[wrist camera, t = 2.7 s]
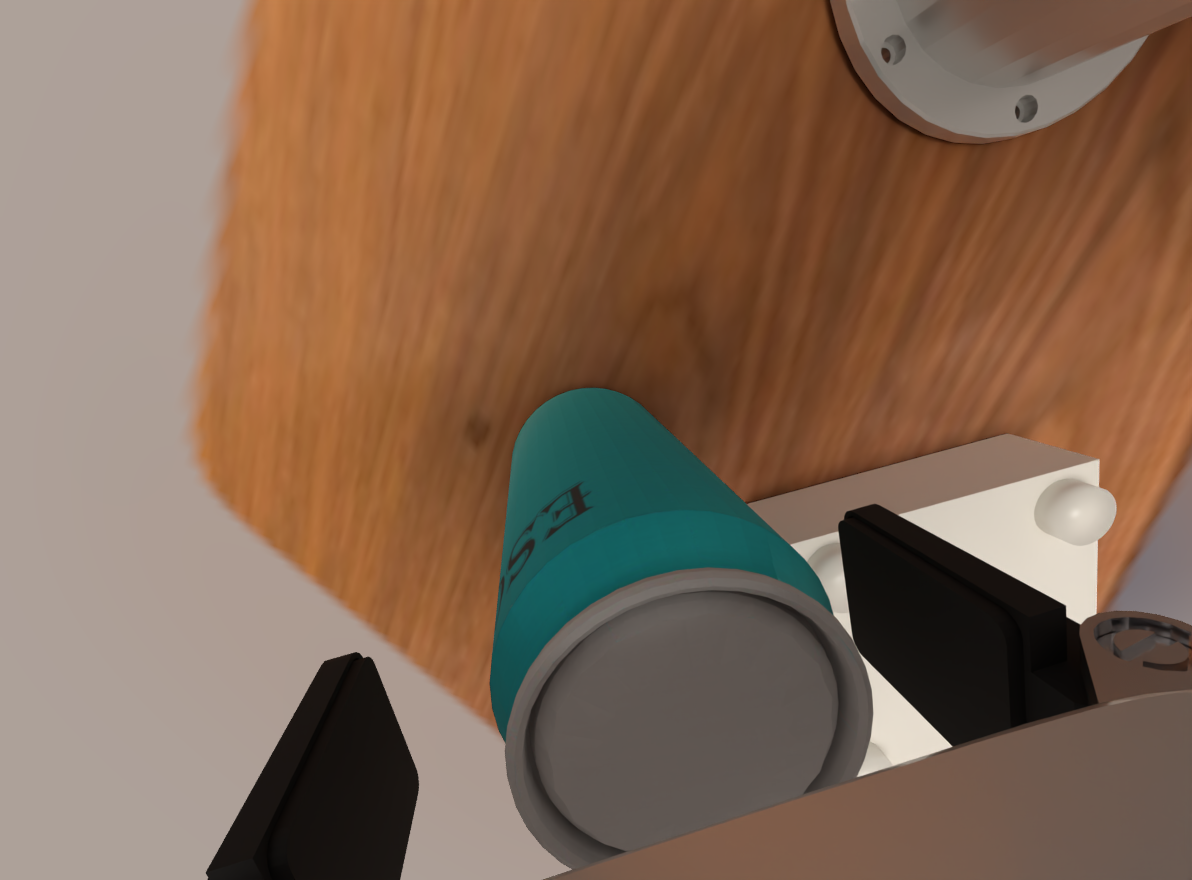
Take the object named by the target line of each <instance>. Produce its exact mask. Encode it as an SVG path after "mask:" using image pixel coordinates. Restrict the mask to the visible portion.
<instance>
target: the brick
mask: <svg viewBox="0 0 1192 880" xmlns="http://www.w3.org/2000/svg"><path fill="white" fill-rule="evenodd" d="M871 504H878V505H880V506H882V507H884V508H886V509H888V510H889V511H891V512H893V513H895V514H897V515H899V516H901V517H902V518H904V519H906V520H908V521H910V522H912V523H914V524H915V525H917V526H919V527H921V528H923V529H925V530H927V531H928V532H930V533H932V534H934V535H936V536H938V537H940V538H941V539H943V540H945V541H947V542H949V543H951V544H953V545H955V546H956V547H958V548H960V549H962V550H964V551H966V552H968V553H969V554H971V555H973V556H975V557H977V558H979V559H981V560H982V561H984V562H986V563H988V564H990V565H992V566H994V567H995V568H997V569H999V570H1001V571H1003V572H1005V573H1007V574H1008V575H1010V576H1012V577H1014V578H1016V579H1018V580H1020V581H1021V582H1023V583H1025V584H1027V585H1029V586H1031V587H1033V588H1034V589H1036V590H1038V591H1040V592H1042V593H1044V594H1046V595H1047V596H1049V597H1051V598H1053V599H1055V600H1057V601H1059V602H1060V603H1062V604H1064V605H1066V617H1068V618H1070V619H1072V620H1073V621H1075V622H1077V623H1079V624H1082V623H1083V622H1084V620H1085V619H1086V618H1088V617H1091V616H1093V615H1096V604H1097V553H1098V539H1100V538H1101V537H1102V536H1103V535H1104V534H1105V533H1106V532H1107V531H1108V530H1109V529H1110V527H1111V525H1112V524H1113V521H1114V519H1115V515H1116V502H1115V499H1114V497H1113V496H1112V494H1111V493H1110V492H1109V491H1107V490H1105V489H1102V488H1099V459H1097V458H1093V457H1090V456H1086V455H1083V454H1079V453H1076V452H1072V451H1068V450H1065V449H1061V448H1058V447H1054V446H1051V445H1047V444H1044V443H1040V442H1036V441H1033V440H1029V439H1026V438H1022V437H1019V436H1015V435H1012V434H1008V433H1007V434H1003V435H1000V436H996V437H992V438H988V439H985V440H981V441H977V442H974V443H970V444H966V445H963V446H959V447H955V448H952V449H948V450H944V451H940V452H937V453H933V454H929V455H926V456H922V457H918V458H915V459H911V460H907V461H904V462H900V463H896V464H892V465H889V466H885V467H881V468H878V469H874V470H870V471H867V472H863V473H859V474H856V475H852V476H848V477H844V478H841V479H837V480H833V481H830V482H826V483H822V484H819V485H815V486H811V487H808V488H804V489H800V490H796V491H793V492H789V493H785V494H782V495H778V496H774V497H771V498H767V499H763V500H760V501H756V502H752V503H749V504H747V505H748V506H749V507H750V508H751V509H752V510H753V511H754V512H755V513H757V514H758V515H759V516H760V517H761V518H762V519H763V520H764V521H765V522H766V523H767V524H768V525H769V526H770V527H771V528H772V529H774V530H775V531H776V532H777V533H778V534H779V535H780V536H781V537H782V538H783V539H784V540H785V541H786V542H787V543H788V544H789V545H791V546H792V547H793V548H794V549H795V550H796V551H797V552H798V553H799V554H800V555H801V556H802V557H803V558H804V559H805V560H806V561H807V563H808V564H809V565H810V567H811V568H812V569H813V571H814V572H815V573H816V575H817V576H818V577H819V579H820V581H821V583H822V585H823V587H824V589H825V591H826V593H827V595H828V597H829V600H830V603H831V607H832V611H833V614H834V616H835V617H836V618H837V619H838V621H839V622H840V623H841V625H842V626H843V627H844V628H845V630H846V631H847V632H848V634H849V635H850V636H851V638H852V639H853V637H852V630H851V623H850V615H849V608H848V600H847V593H846V585H845V578H844V570H843V562H842V555H841V547H840V540H839V532H838V524H839V522H840V521H842V520H844V516H845V513H846V512H847V511H850V510H854V509H857V508H861V507H864V506H868V505H871ZM853 641H854V640H853ZM854 644H855V643H854ZM855 646H856V645H855ZM856 648H857V647H856ZM857 650H858V649H857ZM858 652H859V651H858ZM859 654H860V652H859ZM860 656H861V658H862V660H863V662H864V664H865V666H866V669H867V673H868V677H869V681H870V685H871V688H872V699H873V722H872V732H871V738H870V742H869V746H868V749H867V753H866V756H865V760H864V762H863V764H862V767H861V769H860V771H859V773H858V775H857V777H859V776H862V775H865V774H869V773H872V772H875V771H878V770H881V769H884V768H887V767H891V766H894V765H897V764H900V763H903V762H906V761H909V760H913V759H916V758H919V757H922V756H925V755H928V754H931V753H935V752H938V751H941V750H944V749H947V748H950V747H952V746H951V745H950V743H949V742H948V741H947V740H946V739H945V738H944V737H943V736H942V735H941V734H940V733H939V732H938V731H937V730H936V729H935V728H934V727H933V726H932V725H931V724H930V723H929V722H928V721H927V720H926V719H925V718H924V717H923V716H922V715H921V714H920V713H919V712H918V711H917V710H916V709H915V708H914V707H913V706H912V705H911V704H910V703H909V702H908V701H907V700H906V699H905V698H904V697H903V696H902V695H901V694H900V693H899V692H898V691H897V690H896V689H895V688H894V687H893V686H892V685H891V684H890V683H889V682H888V681H887V680H886V679H885V678H884V677H883V676H882V675H881V674H880V673H879V672H878V671H877V670H876V669H875V668H874V667H873V666H872V665H871V664H870V663H869V662H868V661H867V660H866V659H865V658H864V657H863V656H862V655H861V654H860Z"/></svg>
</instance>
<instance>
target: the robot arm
mask: <svg viewBox="0 0 1192 880" xmlns="http://www.w3.org/2000/svg"><path fill="white" fill-rule="evenodd" d="M830 3H831V6H832V10H833V14H834V18H835V21H836V25H837V29H838V33H839V36H840V39H841V41H842V43H843V45H844V48H845V50H846V52H847V54H848V56H849V58H850V60H851V63H852V65H853V67H854V69H855V71H856V72H857V74H858V75H859V77H860V78H861V79H862V81H863V82H864V83H865V85H866V86H867V88H868V89H869V90H870V92H871V93H872V95H873V96H874V97H875V99H877V100H878V101H879V102H880V103H881V104H882V105H883V106H884V107H885V108H887V109H888V110H889V111H890V112H891V113H892V114H893V115H894V116H895V117H896V118H898V119H899V120H900V121H902V122H904V123H906V124H907V125H909V126H911V127H913V128H915V129H916V130H918V131H920V132H922V133H923V134H925V135H929V136H932V137H936V138H939V139H943V140H946V141H950V142H953V143H973V144H986V143H991V142H997V141H1002V140H1008V139H1013V138H1016V137H1019V136H1022V135H1024V134H1027V133H1030V132H1033V131H1036V130H1039V129H1042V128H1045V127H1048V126H1050V125H1052V124H1054V123H1056V122H1058V121H1059V120H1061V119H1063V118H1065V117H1067V116H1069V115H1071V114H1073V113H1075V112H1077V111H1078V110H1079V109H1081V108H1082V107H1083V106H1084V105H1086V104H1087V103H1088V102H1090V101H1091V100H1092V99H1093V98H1095V97H1096V96H1097V95H1099V94H1100V93H1101V92H1102V91H1104V90H1105V89H1106V88H1107V87H1108V86H1109V85H1110V84H1111V83H1112V81H1113V80H1114V79H1115V78H1116V77H1117V76H1118V75H1119V74H1120V73H1121V72H1122V71H1123V70H1124V69H1125V67H1126V66H1127V65H1128V64H1129V63H1130V62H1131V61H1132V59H1133V58H1134V56H1135V55H1136V53H1137V52H1138V51H1139V49H1140V48H1141V46H1142V45H1143V43H1144V42H1145V40H1146V39H1147V37H1148V36H1149V34H1151V33H1154V32H1156V31H1158V30H1161V29H1163V28H1165V27H1168V26H1170V25H1173V24H1175V23H1177V22H1180V21H1182V20H1184V19H1187V18H1189V17H1191V16H1192V0H830ZM838 532H839V540H840V547H841V555H842V562H843V570H844V578H845V585H846V593H847V600H848V608H849V615H850V623H851V630H852V637H853V640H854V643H855V645H856V647H857V649H858V651H859V652H860V654H861V655H862V656H863V657H864V658H865V659H866V660H867V661H868V662H869V663H870V664H871V665H872V666H873V667H874V668H875V669H876V670H877V671H878V672H879V673H880V674H881V675H882V676H883V677H884V678H885V679H886V680H887V681H888V682H889V683H890V684H891V685H892V686H893V687H894V688H895V689H896V690H897V691H898V692H899V693H900V694H901V695H902V696H903V697H904V698H905V699H906V700H907V701H908V702H909V703H910V704H911V705H912V706H913V707H914V708H915V709H916V710H917V711H918V712H919V713H920V714H921V715H922V716H923V717H924V718H925V719H926V720H927V721H928V722H929V723H930V724H931V725H932V726H933V727H934V728H935V729H936V730H937V731H938V732H939V733H940V734H941V735H942V736H943V737H944V738H945V739H946V740H947V741H948V742H949V743H950V745H951V746H952V747H950V748H947V749H944V750H941V751H938V752H935V753H931V754H928V755H925V756H922V757H919V758H916V759H913V760H909V761H906V762H903V763H900V764H897V765H894V766H891V767H887V768H884V769H881V770H878V771H875V772H872V773H869V774H865V775H862V776H859V777H856V778H853V779H850V780H847V781H844V782H840V783H837V784H834V785H831V786H828V787H825V788H822V789H818V790H815V791H812V792H809V793H806V794H803V795H800V796H797V797H793V798H790V799H787V800H784V801H781V802H778V803H775V804H772V805H769V806H766V807H763V808H760V809H757V810H753V811H750V812H747V813H744V814H741V815H738V816H735V817H732V818H729V819H726V820H723V821H720V822H716V823H713V824H710V825H707V826H704V827H701V828H698V829H695V830H692V831H689V832H686V833H683V834H680V835H677V836H674V837H671V838H667V839H664V840H661V841H658V842H655V843H652V844H649V845H646V846H643V847H640V848H637V849H634V850H631V851H628V852H625V853H622V854H619V855H616V856H612V857H609V858H606V859H603V860H600V861H597V862H594V863H591V864H588V865H585V866H582V867H579V868H576V869H573V870H570V871H567V872H564V873H561V874H558V875H556V876H552V877H549V878H546V879H543V880H1192V626H1191V625H1189V624H1186V623H1184V622H1181V621H1179V620H1175V619H1172V618H1168V617H1165V616H1161V615H1157V614H1150V613H1144V612H1137V611H1111V612H1104V613H1098V614H1096V615H1093V616H1091V617H1088V618H1086V619H1085V620H1084V622H1083V623H1082V624H1079V623H1077V622H1075V621H1073V620H1072V619H1070V618H1068V617H1066V605H1064V604H1062V603H1060V602H1059V601H1057V600H1055V599H1053V598H1051V597H1049V596H1047V595H1046V594H1044V593H1042V592H1040V591H1038V590H1036V589H1034V588H1033V587H1031V586H1029V585H1027V584H1025V583H1023V582H1021V581H1020V580H1018V579H1016V578H1014V577H1012V576H1010V575H1008V574H1007V573H1005V572H1003V571H1001V570H999V569H997V568H995V567H994V566H992V565H990V564H988V563H986V562H984V561H982V560H981V559H979V558H977V557H975V556H973V555H971V554H969V553H968V552H966V551H964V550H962V549H960V548H958V547H956V546H955V545H953V544H951V543H949V542H947V541H945V540H943V539H941V538H940V537H938V536H936V535H934V534H932V533H930V532H928V531H927V530H925V529H923V528H921V527H919V526H917V525H915V524H914V523H912V522H910V521H908V520H906V519H904V518H902V517H901V516H899V515H897V514H895V513H893V512H891V511H889V510H888V509H886V508H884V507H882V506H880V505H878V504H871V505H868V506H864V507H861V508H857V509H854V510H850V511H847V512H846V513H845V516H844V520H842V521H840V522H839V524H838ZM418 790H419V780H418V773H417V770H416V767H415V764H414V762H413V759H412V757H411V754H410V752H409V749H408V746H407V744H406V741H405V739H404V736H403V734H402V731H401V729H400V726H399V724H398V722H397V719H396V716H395V714H394V711H393V709H392V706H391V704H390V701H389V699H388V696H387V694H386V691H385V689H384V687H383V684H382V681H381V679H380V676H379V673H378V671H377V668H376V666H375V664H374V662H373V660H372V659H371V658H370V657H366V658H363V657H362V656H361V654H360V653H357V652H355V653H351V654H348V655H344V656H341V657H337V658H334V659H330V660H327V661H324V663H323V664H322V665H321V667H320V669H319V670H318V672H317V674H316V676H315V678H314V680H313V681H312V683H311V685H310V687H309V688H308V690H307V692H306V694H305V696H304V698H303V699H302V701H301V703H300V705H299V707H298V708H297V710H296V712H295V713H294V716H293V718H292V719H291V721H290V722H289V724H288V726H287V728H286V730H285V732H284V733H283V735H282V737H281V739H280V740H279V742H278V744H277V746H276V748H275V749H274V751H273V753H272V755H271V757H270V758H269V760H268V762H267V764H266V766H265V767H264V769H263V771H262V773H261V774H260V776H259V778H258V780H257V782H256V784H255V785H254V787H253V789H252V791H251V793H250V794H249V796H248V798H247V800H246V801H245V803H244V805H243V807H242V809H241V810H240V812H239V814H238V816H237V818H236V819H235V821H234V823H233V825H232V827H231V828H230V830H229V832H228V834H227V835H226V837H225V839H224V841H223V843H222V845H221V846H220V848H219V850H218V852H217V854H216V855H215V857H214V859H213V861H212V862H211V864H210V866H209V868H208V869H207V871H206V874H207V876H208V880H400V877H401V872H402V868H403V863H404V859H405V854H406V849H407V844H408V839H409V834H410V830H411V825H412V820H413V815H414V810H415V806H416V801H417V796H418Z"/></svg>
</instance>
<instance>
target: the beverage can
mask: <svg viewBox="0 0 1192 880" xmlns="http://www.w3.org/2000/svg"><path fill="white" fill-rule="evenodd" d="M490 691H491V701H492V709H493V712H494V716H495V719H496V722H497V726H498V729H499V732H500V734H501V736H502V738H503V740H504V741H505V743H506V745H505V758H506V769H507V777H508V781H509V785H510V788H511V791H512V795H513V798H514V801H515V805H516V808H517V809H518V811H519V813H520V815H521V817H522V819H523V821H524V823H525V824H526V827H527V828H528V830H529V831H530V832H531V833H532V834H533V836H534V837H535V838H536V840H537V841H538V842H539V843H540V844H541V846H542V847H543V848H544V849H546V850H547V851H548V852H549V853H550V854H551V855H553V856H554V857H555V858H556V859H557V860H558V861H560V862H561V863H563V864H564V865H566V866H568V867H569V868H571V869H572V870H573V869H576V868H579V867H582V866H585V865H588V864H591V863H594V862H597V861H600V860H603V859H606V858H609V857H612V856H616V855H619V854H622V853H625V852H628V851H631V850H634V849H637V848H640V847H643V846H646V845H649V844H652V843H655V842H658V841H661V840H664V839H667V838H671V837H674V836H677V835H680V834H683V833H686V832H689V831H692V830H695V829H698V828H701V827H704V826H707V825H710V824H713V823H716V822H720V821H723V820H726V819H729V818H732V817H735V816H738V815H741V814H744V813H747V812H750V811H753V810H757V809H760V808H763V807H766V806H769V805H772V804H775V803H778V802H781V801H784V800H787V799H790V798H793V797H797V796H800V795H803V794H806V793H809V792H812V791H815V790H818V789H822V788H825V787H828V786H831V785H834V784H837V783H840V782H844V781H847V780H850V779H853V778H856V777H857V775H858V773H859V771H860V769H861V767H862V764H863V762H864V760H865V756H866V753H867V749H868V746H869V742H870V738H871V732H872V722H873V699H872V688H871V685H870V681H869V677H868V673H867V669H866V666H865V664H864V662H863V660H862V658H861V656H860V654H859V652H858V650H857V648H856V646H855V644H854V641H853V639H852V638H851V636H850V635H849V634H848V632H847V631H846V630H845V628H844V627H843V626H842V625H841V623H840V622H839V621H838V619H837V618H836V617H835V616H834V614H833V611H832V607H831V603H830V600H829V597H828V595H827V593H826V591H825V589H824V587H823V585H822V583H821V581H820V579H819V577H818V576H817V575H816V573H815V572H814V571H813V569H812V568H811V567H810V565H809V564H808V563H807V561H806V560H805V559H804V558H803V557H802V556H801V555H800V554H799V553H798V552H797V551H796V550H795V549H794V548H793V547H792V546H791V545H789V544H788V543H787V542H786V541H785V540H784V539H783V538H782V537H781V536H780V535H779V534H778V533H777V532H776V531H775V530H774V529H772V528H771V527H770V526H769V525H768V524H767V523H766V522H765V521H764V520H763V519H762V518H761V517H760V516H759V515H758V514H757V513H755V512H754V511H753V510H752V509H751V508H750V507H749V506H748V505H747V504H746V503H745V502H744V501H743V500H742V499H741V498H740V497H738V496H737V495H736V494H735V493H734V492H733V491H732V490H731V489H730V488H729V487H728V486H727V485H726V484H725V483H724V482H722V481H721V480H720V479H719V478H718V477H717V476H716V475H715V474H714V473H713V472H712V471H711V470H710V469H709V468H708V467H707V466H705V465H704V464H703V463H702V462H701V461H700V460H699V459H698V458H697V457H696V456H695V455H694V454H693V453H692V452H691V451H690V450H688V449H687V448H686V447H685V446H684V445H683V444H682V443H681V442H680V441H679V440H678V439H677V438H676V437H675V436H674V435H673V434H671V433H670V432H669V431H668V430H667V429H666V428H665V427H664V426H663V425H662V424H661V423H660V422H659V421H658V420H657V419H656V418H654V417H653V416H652V415H651V414H650V413H649V412H648V411H647V410H646V409H645V408H644V407H643V406H642V405H641V404H639V403H638V402H636V401H635V400H633V399H632V398H630V397H628V396H626V395H624V394H621V393H619V392H616V391H612V390H608V389H602V388H581V389H576V390H571V391H568V392H565V393H562V394H560V395H557V396H555V397H554V398H552V399H550V400H548V401H547V402H545V403H544V404H543V405H541V406H540V407H539V408H538V409H537V410H535V412H534V413H533V414H532V415H531V416H530V417H529V418H528V419H527V421H526V422H525V424H524V426H523V427H522V429H521V430H520V433H519V435H518V437H517V439H516V442H515V446H514V450H513V454H512V464H511V474H510V484H509V494H508V504H507V514H506V524H505V533H504V543H503V553H502V563H501V573H500V583H499V593H498V603H497V613H496V622H495V632H494V642H493V652H492V663H491V675H490Z"/></svg>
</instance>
